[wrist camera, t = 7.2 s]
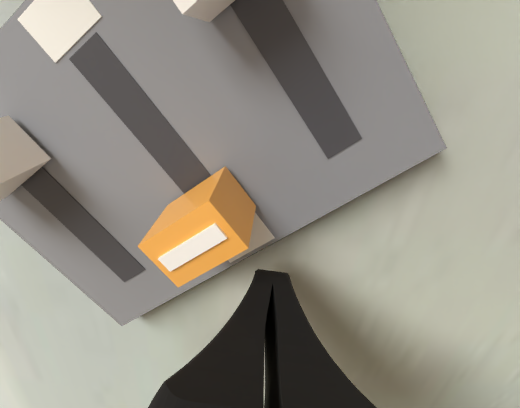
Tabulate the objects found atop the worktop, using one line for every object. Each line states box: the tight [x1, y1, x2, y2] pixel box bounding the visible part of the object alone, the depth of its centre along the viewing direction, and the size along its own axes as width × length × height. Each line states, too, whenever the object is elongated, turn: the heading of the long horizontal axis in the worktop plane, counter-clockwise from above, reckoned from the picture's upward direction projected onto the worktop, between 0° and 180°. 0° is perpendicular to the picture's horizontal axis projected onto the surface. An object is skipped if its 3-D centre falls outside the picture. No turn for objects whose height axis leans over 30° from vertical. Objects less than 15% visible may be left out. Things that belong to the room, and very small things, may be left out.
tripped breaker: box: [138, 166, 256, 287], centre depth 12 cm, size 2×3×3 cm, turn 125°
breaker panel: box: [0, 0, 447, 326], centre depth 11 cm, size 12×17×4 cm
